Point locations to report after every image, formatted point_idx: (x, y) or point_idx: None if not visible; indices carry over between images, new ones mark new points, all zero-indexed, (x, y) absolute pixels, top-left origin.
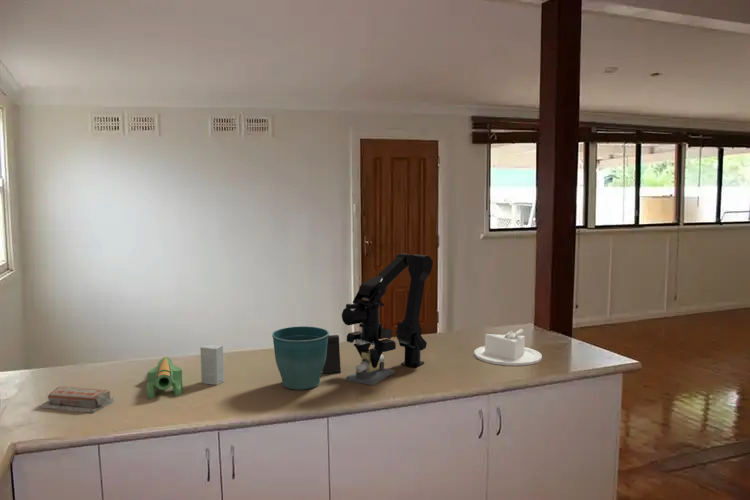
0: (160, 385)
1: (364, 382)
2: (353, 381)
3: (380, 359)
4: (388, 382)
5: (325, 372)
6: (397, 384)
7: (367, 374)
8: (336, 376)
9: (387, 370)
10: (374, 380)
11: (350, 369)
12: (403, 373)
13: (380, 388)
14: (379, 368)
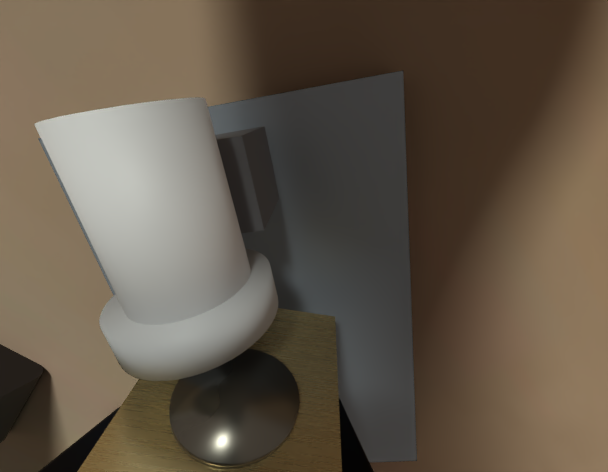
0: None
1: None
2: None
3: (263, 301)
4: (492, 344)
5: (5, 434)
6: (590, 341)
7: None
8: None
9: (342, 154)
10: (411, 432)
11: (5, 273)
12: (518, 2)
13: (497, 450)
14: (334, 322)
